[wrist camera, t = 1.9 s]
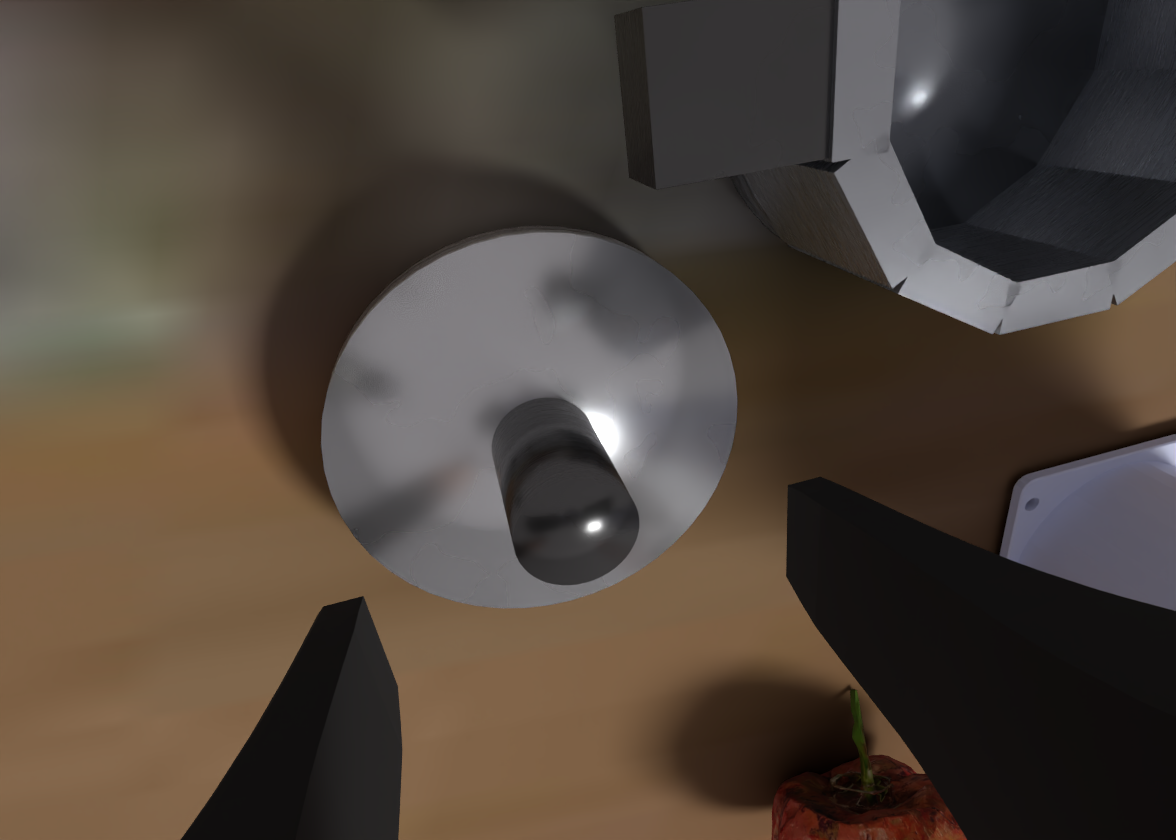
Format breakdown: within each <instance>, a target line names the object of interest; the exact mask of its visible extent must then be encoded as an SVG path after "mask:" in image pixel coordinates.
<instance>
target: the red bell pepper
mask: <svg viewBox="0 0 1176 840" xmlns="http://www.w3.org/2000/svg"><path fill="white" fill-rule="evenodd" d="M850 696H851V712H852V715H853V719H854V725H853V728H852V739H853V741H854V742H855V744H856V746H857V748H858V751H859V756H860V758H857V759H855V760H853V761H850V762H847V763H843V764H841V765H840V766H838V767H835V768H833V769H832V770H830V771H828V772H826V773H824V774H821V775H819V774H817V773H813V772H808V771H807V772H805V773H802V774H800V775H798V776H794V777H792V778H790V779H788V780H785V781H784V782H783V783H782V784H781V785H780V786H779V788H778V790H777V792H776V794H775V797H774V802H773V808H772V840H967V839H966V837H965V835H964V834H963V832H962V830H961V829H960V827H959V825H958V824H957V822H956V820H955V819H954V817H953V815H952V814H951V812H950V811H949V809H948V808H947V806H946V804H945V803H944V801H943V800H942V798H941V797H940V795H939V793H938V792H937V790H936V789H935V787H934V786H933V784H932V782H931V781H930V779H929V778H928V776H927V775H926V774H917V773H916V772H915V771H914V770H913V769H912V768H911V767H909V766H908V765H906V764H904V763H901V762H899V761H897V760H895V759H893V758H891V757H889V756H885V755H871V756H868V753H867V747H866V742H865V736H864V730H863V723H862V717H861V711H860V704H859V698H858V694H857V690H854V689H850Z"/></svg>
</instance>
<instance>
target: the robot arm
mask: <svg viewBox="0 0 1176 840" xmlns="http://www.w3.org/2000/svg"><path fill="white" fill-rule="evenodd" d="M786 577H787V578H788V580H789V582H790V584H791V585H792V587H793V589H794V591H795V593H796V594H797V596H798V598H799V600H800V601H801V603H802V605H803V607H804V608H805V610H806V611H807V613H808V615H809V616H810V618H811V620H812V621H813V623H814V625H815V626H816V628H817V629H818V630H819V632H820V633H821V634H822V636H823V637H824V638H825V640H826V641H827V642H828V644H829V645H830V646H831V648H832V649H833V650H834V651H835V653H836V654H837V655H838V657H839V658H840V659H841V661H842V662H843V663H844V665H845V666H846V667H847V668H848V670H849V671H850V672H851V674H852V675H853V676H854V677H855V679H856V680H857V681H858V683H859V684H860V685H861V686H862V688H863V689H864V690H865V692H866V693H867V694H868V695H869V697H870V698H871V699H872V701H873V702H874V703H875V704H876V706H877V707H878V708H879V710H880V711H881V712H882V713H883V715H884V716H885V717H886V719H887V720H888V721H889V722H890V724H891V725H892V726H893V728H894V729H895V730H896V732H897V733H898V734H899V735H900V737H901V738H902V740H903V741H904V742H905V744H906V745H907V747H908V748H909V749H910V751H911V752H912V754H913V755H914V756H915V758H916V759H917V761H918V762H919V764H920V765H921V767H922V768H923V770H924V771H925V773H926V775H927V776H928V778H929V779H930V781H931V782H932V784H933V786H934V787H935V789H936V790H937V792H938V793H939V795H940V797H941V798H942V800H943V801H944V803H945V804H946V806H947V808H948V809H949V811H950V812H951V814H952V815H953V817H954V819H955V820H956V822H957V824H958V825H959V827H960V829H961V830H962V832H963V834H964V835H965V837H966V839H967V840H1176V434H1173V435H1170V436H1166V437H1162V438H1159V439H1155V440H1151V441H1147V442H1144V443H1140V444H1136V445H1133V446H1129V447H1125V448H1122V449H1118V450H1114V451H1111V452H1107V453H1103V454H1100V455H1096V456H1092V457H1088V458H1085V459H1081V460H1077V461H1074V462H1070V463H1066V464H1063V465H1059V466H1055V467H1052V468H1048V469H1044V470H1040V471H1037V472H1033V473H1029V474H1027V475H1024V476H1022V477H1021V478H1020V479H1019V480H1018V481H1017V482H1016V484H1015V486H1014V488H1013V492H1012V497H1011V502H1010V507H1009V512H1008V516H1007V521H1006V526H1005V531H1004V536H1003V540H1002V545H1001V550H1000V555H997V554H995V553H992V552H990V551H987V550H984V549H982V548H979V547H977V546H974V545H972V544H969V543H967V542H965V541H962V540H960V539H958V538H955V537H953V536H951V535H948V534H946V533H944V532H941V531H939V530H937V529H935V528H932V527H930V526H928V525H926V524H923V523H921V522H919V521H917V520H915V519H912V518H910V517H908V516H906V515H904V514H901V513H899V512H897V511H895V510H893V509H891V508H889V507H886V506H884V505H882V504H880V503H878V502H876V501H874V500H871V499H869V498H867V497H865V496H863V495H861V494H859V493H856V492H854V491H852V490H850V489H848V488H846V487H843V486H841V485H839V484H836V483H834V482H832V481H829V480H827V479H824V478H822V477H818V478H814V479H810V480H806V481H802V482H799V483H795V484H791V485H788V510H787V567H786ZM401 769H402V737H401V721H400V709H399V696H398V686H397V683H396V681H395V678H394V675H393V673H392V670H391V667H390V665H389V662H388V660H387V657H386V654H385V652H384V649H383V646H382V644H381V641H380V639H379V636H378V633H377V631H376V628H375V625H374V623H373V620H372V618H371V615H370V612H369V610H368V607H367V604H366V602H365V599H364V597H363V596H362V597H358V598H354V599H350V600H347V601H343V602H339V603H335V604H331V605H327V606H324V607H323V608H322V609H321V611H320V612H319V614H318V615H317V617H316V619H315V621H314V623H313V625H312V627H311V629H310V630H309V632H308V634H307V636H306V638H305V640H304V642H303V644H302V646H301V647H300V649H299V651H298V653H297V655H296V657H295V659H294V661H293V662H292V664H291V666H290V668H289V670H288V671H287V673H286V675H285V677H284V679H283V681H282V682H281V684H280V686H279V688H278V689H277V691H276V693H275V695H274V696H273V698H272V700H271V701H270V703H269V705H268V707H267V708H266V710H265V712H264V713H263V715H262V717H261V719H260V720H259V722H258V724H257V725H256V727H255V729H254V730H253V732H252V734H251V735H250V737H249V739H248V740H247V742H246V743H245V745H244V747H243V748H242V750H241V751H240V753H239V754H238V756H237V757H236V759H235V760H234V762H233V764H232V765H231V767H230V768H229V770H228V771H227V773H226V774H225V776H224V778H223V779H222V781H221V782H220V784H219V785H218V787H217V788H216V790H215V792H214V793H213V794H212V796H211V797H210V799H209V800H208V802H207V803H206V805H205V806H204V808H203V809H202V810H201V812H200V813H199V815H198V816H197V818H196V819H195V820H194V822H193V823H192V825H191V826H190V827H189V829H188V830H187V832H186V833H185V834H184V836H183V837H182V839H181V840H398V833H399V813H400V791H401Z"/></svg>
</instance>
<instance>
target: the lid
mask: <svg viewBox="0 0 1176 840" xmlns="http://www.w3.org/2000/svg"><path fill="white" fill-rule="evenodd" d="M736 422H737V390H736V379H735V373H734V369H733V365H732V361H731V357H730V353H729V351H728V348H727V346H726V343H725V341H724V338H723V336H722V333H721V331H720V330H719V328H718V326H717V324H716V323H715V321H714V319H713V318H712V316H711V314H710V313H709V311H708V310H707V308H706V307H705V306H704V305H703V304H702V302H701V301H700V300H699V299H698V297H697V296H696V295H695V294H694V293H693V291H692V290H691V289H689V288H688V287H687V286H686V285H685V284H684V283H683V282H682V281H681V280H679V279H678V278H677V277H676V276H675V275H674V274H673V273H671V272H670V271H669V270H667V269H666V268H664V267H663V266H662V265H660V264H659V263H657V262H656V261H654V260H653V259H651V258H650V257H648V256H647V255H645V254H644V253H642V252H641V251H639V250H637V249H635V248H633V247H631V246H629V245H627V244H624V243H622V242H620V241H618V240H616V239H613V238H610V237H607V236H604V235H600V234H597V233H594V232H591V231H587V230H581V229H574V228H568V227H562V226H522V227H513V228H504V229H498V230H494V231H490V232H486V233H482V234H478V235H474V236H470V237H468V238H465V239H463V240H461V241H458V242H456V243H453V244H451V245H448V246H446V247H443V248H441V249H439V250H438V251H436V252H434V253H432V254H430V255H429V256H427V257H425V258H423V259H422V260H420V261H418V262H416V263H415V264H414V265H412V266H411V267H410V268H408V269H407V270H406V271H404V272H403V273H402V274H400V275H399V276H398V277H397V278H395V279H394V280H393V281H391V282H390V283H389V284H388V285H387V286H386V287H385V288H384V289H383V290H382V291H381V292H380V293H379V294H378V296H377V297H376V298H375V299H374V300H373V301H372V302H371V303H370V304H369V305H368V307H367V308H366V309H365V311H364V312H363V313H362V315H361V316H360V317H359V319H358V320H357V322H356V323H355V324H354V326H353V327H352V329H351V331H350V333H349V335H348V337H347V339H346V340H345V342H344V344H343V346H342V348H341V350H340V352H339V355H338V358H337V360H336V363H335V366H334V369H333V372H332V374H331V378H330V382H329V386H328V390H327V395H326V400H325V405H324V410H323V415H322V431H321V449H322V457H323V465H324V472H325V475H326V479H327V482H328V486H329V489H330V492H331V496H332V498H333V500H334V502H335V504H336V506H337V508H338V511H339V513H340V515H341V517H342V519H343V520H344V522H345V523H346V525H347V526H348V528H349V529H350V531H351V532H352V534H353V535H354V537H355V538H356V539H357V540H358V541H359V542H360V543H361V545H362V546H363V547H364V548H365V549H366V550H367V551H368V552H369V553H370V555H371V556H373V557H374V558H375V559H376V560H377V561H379V562H380V563H381V564H382V565H383V566H385V567H386V568H387V569H388V570H389V571H391V572H392V573H394V574H396V575H397V576H399V577H400V578H402V579H403V580H405V581H407V582H408V583H410V584H412V585H414V586H416V587H418V588H420V589H423V590H425V591H427V592H429V593H431V594H434V595H437V596H440V597H443V598H446V599H449V600H452V601H456V602H461V603H466V604H470V605H475V606H483V607H494V608H529V607H537V606H546V605H552V604H557V603H561V602H566V601H570V600H574V599H577V598H580V597H583V596H586V595H589V594H592V593H595V592H598V591H600V590H602V589H605V588H607V587H609V586H611V585H614V584H616V583H618V582H620V581H622V580H623V579H625V578H627V577H629V576H630V575H632V574H634V573H636V572H638V571H639V570H640V569H642V568H643V567H645V566H646V565H648V564H649V563H650V562H652V561H653V560H655V559H656V558H657V557H659V556H660V555H661V554H662V553H663V552H664V551H666V550H667V549H668V548H669V547H670V546H671V545H673V544H674V543H675V542H676V541H677V540H678V539H679V538H680V536H681V535H682V534H683V533H684V532H685V531H686V530H687V529H688V528H689V527H690V526H691V525H692V523H693V522H694V521H695V519H696V518H697V517H698V515H699V514H700V513H701V511H702V510H703V509H704V507H705V506H706V504H707V502H708V501H709V499H710V497H711V496H712V494H713V492H714V491H715V489H716V487H717V485H718V483H719V481H720V478H721V476H722V474H723V472H724V469H725V467H726V464H727V461H728V458H729V455H730V451H731V448H732V445H733V439H734V434H735V428H736Z"/></svg>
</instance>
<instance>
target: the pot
mask: <svg viewBox="0 0 1176 840" xmlns="http://www.w3.org/2000/svg"><path fill="white" fill-rule="evenodd" d="M614 19H615V29H616V40H617V51H618V61H619V72H620V82H621V93H622V104H623V114H624V125H625V136H626V146H627V157H628V168H629V178H631V179H633V180H635V181H638V182H640V183H642V184H644V185H647V186H649V187H651V188H654V189H656V190H657V189H662V188H668V187H673V186H679V185H684V184H690V183H696V182H701V181H707V180H712V179H718V178H723V177H729V176H730V177H731V179H732V181H733V183H734V185H735V187H736V189H737V191H738V192H739V194H740V195H741V197H742V198H743V199H744V201H745V202H746V204H747V205H748V207H749V208H750V209H751V211H752V212H753V213H754V214H755V215H756V216H757V217H758V218H759V219H760V221H761V222H762V223H763V224H764V225H765V226H766V227H767V228H768V229H769V230H770V231H772V232H773V233H774V234H776V235H777V236H778V237H780V238H781V239H782V241H783V242H785V243H787V244H788V246H789V247H792V248H794V249H796V250H798V251H801V252H803V253H805V254H808V255H810V256H812V257H815V258H817V259H819V260H821V261H824V262H826V263H828V264H831V265H833V266H835V267H837V268H840V269H842V270H844V271H847V272H849V273H851V274H854V275H856V276H858V277H860V278H863V279H865V280H867V281H870V282H872V283H874V284H877V285H879V286H881V287H883V288H886V289H888V290H890V291H893V292H895V293H897V294H899V295H902V296H904V297H907V298H909V299H911V300H914V301H916V302H918V303H921V304H923V305H925V306H928V307H930V308H932V309H935V310H937V311H939V312H942V313H944V314H946V315H949V316H951V317H953V318H956V319H958V320H960V321H963V322H965V323H967V324H970V325H972V326H974V327H977V328H979V329H981V330H984V331H986V332H988V333H991V334H993V333H994V332H995V333H997V334H999V335H1001V334H1005V333H1010V332H1014V331H1018V330H1022V329H1027V328H1031V327H1035V326H1040V325H1044V324H1048V323H1052V322H1057V321H1061V320H1065V319H1070V318H1074V317H1078V316H1082V315H1087V314H1091V313H1095V312H1100V311H1104V310H1108V309H1110V306H1111V303H1112V304H1115V305H1118V304H1120V303H1121V302H1122V301H1124V300H1125V299H1126V298H1128V297H1129V296H1130V295H1132V294H1133V293H1134V292H1136V291H1137V290H1138V289H1140V288H1141V287H1142V286H1144V285H1145V284H1146V283H1148V282H1149V281H1150V280H1151V279H1153V278H1154V277H1155V276H1157V275H1158V274H1159V273H1161V272H1162V271H1163V270H1165V269H1166V268H1167V267H1169V266H1170V265H1171V264H1173V263H1174V262H1175V261H1176V0H692V1H684V2H677V3H670V4H663V5H655V6H648V7H641V8H638V9H635V10H631V11H628V12H625V13H621V14H618V15H614Z"/></svg>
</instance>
